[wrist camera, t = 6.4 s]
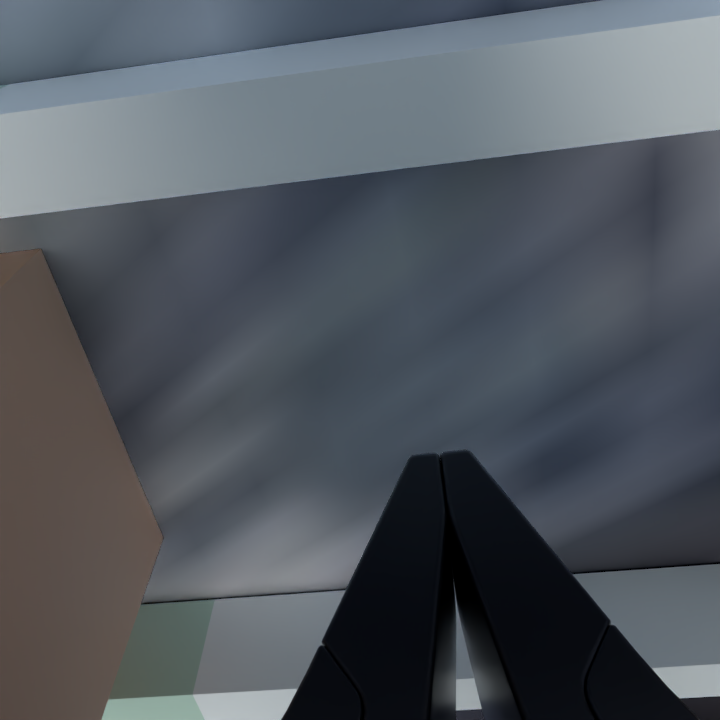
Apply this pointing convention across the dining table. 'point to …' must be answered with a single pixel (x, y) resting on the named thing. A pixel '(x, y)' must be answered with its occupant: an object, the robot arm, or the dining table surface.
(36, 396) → the block
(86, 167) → the trap lane
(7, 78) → the dining table surface
